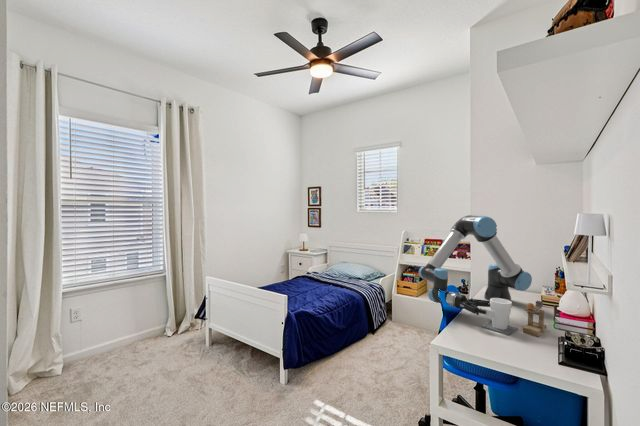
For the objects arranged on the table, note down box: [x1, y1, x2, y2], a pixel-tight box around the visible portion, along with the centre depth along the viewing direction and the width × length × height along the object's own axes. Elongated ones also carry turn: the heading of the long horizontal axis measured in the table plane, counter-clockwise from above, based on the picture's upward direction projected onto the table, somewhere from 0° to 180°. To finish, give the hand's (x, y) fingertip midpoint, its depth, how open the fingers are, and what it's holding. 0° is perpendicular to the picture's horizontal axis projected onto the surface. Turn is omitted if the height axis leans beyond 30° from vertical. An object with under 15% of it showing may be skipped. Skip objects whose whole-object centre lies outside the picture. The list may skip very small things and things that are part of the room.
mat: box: [482, 320, 519, 336], centre depth 153 cm, size 12×12×1 cm
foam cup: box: [489, 298, 513, 329], centre depth 153 cm, size 10×9×13 cm
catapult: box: [522, 300, 548, 338], centre depth 149 cm, size 17×6×15 cm, turn 130°
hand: (499, 311), depth 153 cm, fingers open, 13 cm apart
